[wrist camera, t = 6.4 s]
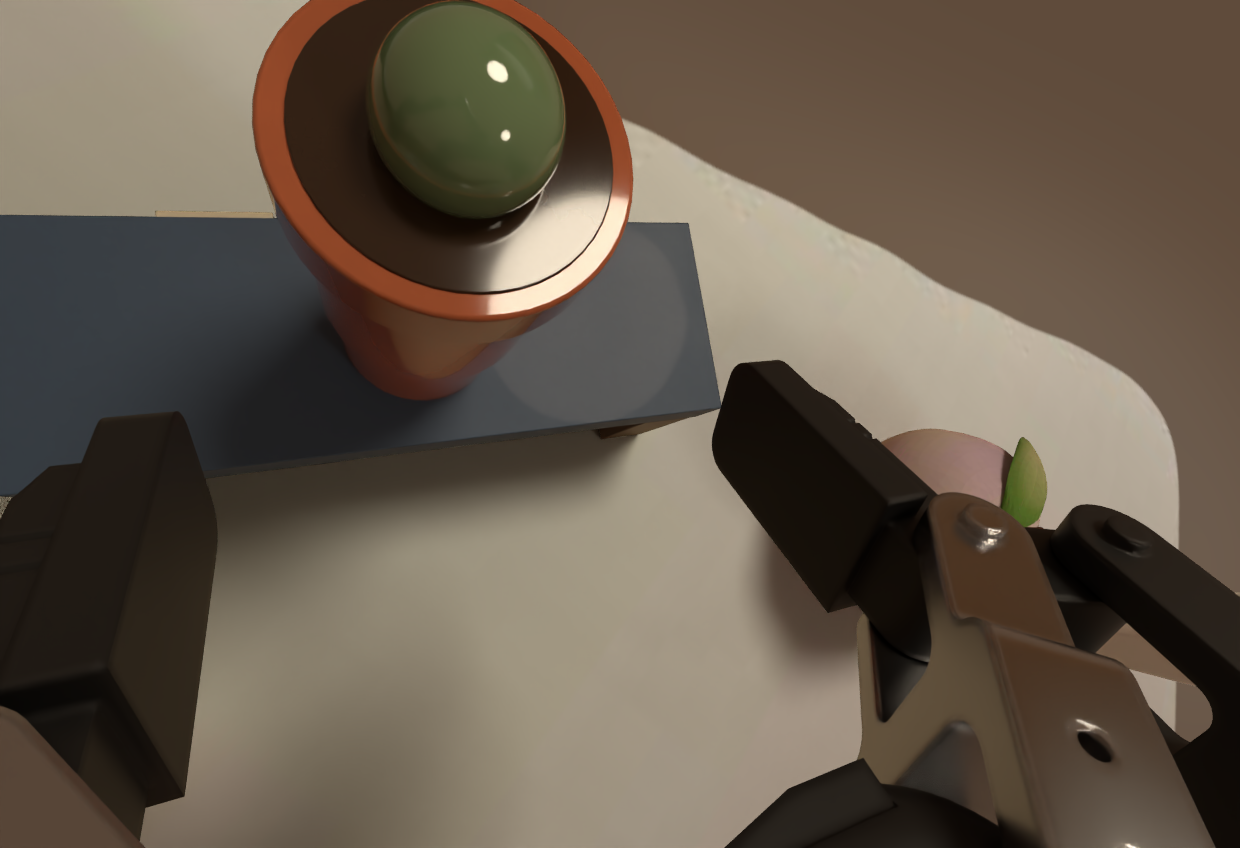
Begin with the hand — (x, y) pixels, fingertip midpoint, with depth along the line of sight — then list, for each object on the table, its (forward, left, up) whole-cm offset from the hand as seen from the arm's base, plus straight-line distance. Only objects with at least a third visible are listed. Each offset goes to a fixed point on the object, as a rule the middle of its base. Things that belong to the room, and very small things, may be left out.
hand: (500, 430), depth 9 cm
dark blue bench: (-1, +4, -17) cm, 17 cm away
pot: (-1, +4, -10) cm, 11 cm away
